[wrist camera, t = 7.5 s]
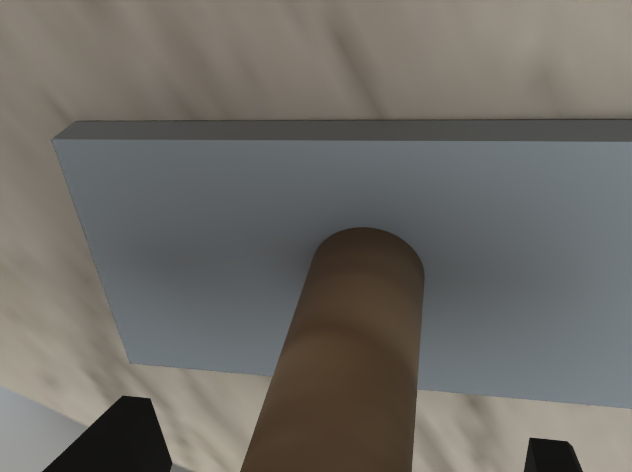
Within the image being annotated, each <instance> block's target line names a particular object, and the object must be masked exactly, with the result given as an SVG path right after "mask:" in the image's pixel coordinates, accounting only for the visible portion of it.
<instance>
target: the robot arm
mask: <svg viewBox="0 0 632 472" xmlns="http://www.w3.org/2000/svg"><path fill="white" fill-rule="evenodd" d="M171 466H172V461H171V458H170V455H169V452H168V449H167V446H166V443H165V440H164V437H163V434H162V431H161V428H160V425H159V422H158V420H157V417H156V414H155V411H154V408H153V405H152V402H151V399H150V398H141V397H131V396H122V397H121V398H120V399H119V400H118V401H116V402H115V403H114V404H113V405H112V406H111V407H110V408H109V409H108V410H107V411H106V412H105V413H104V414H103V415H101V416H100V417H99V418H98V419H97V420H96V421H95V422H94V423H93V424H92V425H91V426H90V427H89V428H88V429H87V430H86V431H85V432H84V433H83V434H82V435H81V436H80V437H79V438H78V439H76V440H75V441H74V442H73V443H72V444H71V445H70V446H69V447H68V448H67V449H66V450H65V451H64V452H63V453H62V454H61V455H60V456H58V457H57V458H56V459H55V460H54V461H53V462H52V463H51V464H50V465H49V466H48V467H47V468H46V469H44V471H42V472H170V469H171ZM524 472H583V471H582V468H581V466H580V464H579V461H578V459H577V456H576V454H575V451H574V449H573V446H571V445H570V444H569V443H568V442H567V441H558V440H548V439H538V438H530V439H529V445H528V451H527V456H526V462H525V468H524Z"/></svg>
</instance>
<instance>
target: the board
mask: <svg viewBox="0 0 632 472" xmlns="http://www.w3.org/2000/svg"><path fill="white" fill-rule="evenodd" d="M51 140H52V143H53V146H54V149H55V151H56V154H57V157H58V160H59V163H60V166H61V168H62V171H63V174H64V177H65V180H66V183H67V186H68V188H69V191H70V194H71V197H72V200H73V203H74V205H75V208H76V211H77V214H78V217H79V220H80V223H81V225H82V228H83V231H84V234H85V237H86V240H87V242H88V245H89V248H90V251H91V254H92V257H93V260H94V262H95V265H96V268H97V271H98V274H99V277H100V279H101V282H102V285H103V288H104V291H105V294H106V296H107V299H108V302H109V305H110V308H111V311H112V314H113V316H114V319H115V322H116V325H117V328H118V331H119V333H120V336H121V339H122V342H123V345H124V348H125V351H126V353H127V356H128V359H129V362H130V363H131V364H143V365H154V366H165V367H176V368H187V369H198V370H209V371H220V372H231V373H242V374H253V375H264V376H273V374H274V371H275V368H276V365H277V362H278V359H279V356H280V353H281V350H282V348H283V345H284V342H285V339H286V336H287V333H288V330H289V327H290V324H291V321H292V318H293V315H294V312H295V309H296V306H297V303H298V300H299V298H300V295H301V292H302V289H303V286H304V283H305V280H306V277H307V274H308V271H309V268H310V265H311V262H312V259H313V256H314V254H315V252H316V250H317V248H318V247H319V246H320V244H321V243H322V242H323V241H324V240H326V239H327V238H328V237H329V236H331V235H333V234H335V233H337V232H339V231H342V230H345V229H349V228H355V227H370V228H376V229H381V230H384V231H387V232H390V233H392V234H394V235H396V236H398V237H399V238H401V239H403V240H404V241H405V242H407V243H408V244H409V245H410V246H411V247H412V248H413V249H414V251H415V252H416V253H417V255H418V256H419V258H420V260H421V262H422V265H423V268H424V275H425V281H424V295H423V310H422V325H421V340H420V354H419V369H418V384H417V389H419V390H430V391H441V392H452V393H463V394H474V395H485V396H496V397H508V398H519V399H530V400H541V401H552V402H563V403H574V404H585V405H596V406H607V407H618V408H629V409H632V120H358V121H76V122H74V123H73V124H72V125H70V126H69V127H67V128H66V129H65V130H63V131H62V132H61V133H59V134H58V135H57V136H55V137H54V138H53V139H51Z"/></svg>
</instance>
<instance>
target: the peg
mask: <svg viewBox="0 0 632 472" xmlns="http://www.w3.org/2000/svg"><path fill="white" fill-rule="evenodd" d="M424 281H425V275H424V268H423V265H422V262H421V260H420V258H419V256H418V255H417V253H416V252H415V251H414V249H413V248H412V247H411V246H410V245H409V244H408V243H407V242H405V241H404V240H403V239H401V238H399V237H398V236H396V235H394V234H392V233H390V232H387V231H384V230H381V229H376V228H370V227H355V228H349V229H345V230H342V231H339V232H337V233H335V234H333V235H331V236H329V237H328V238H327V239H326V240H324V241H323V242H322V243H321V244H320V246H319V247H318V248H317V250H316V252H315V254H314V256H313V259H312V262H311V265H310V268H309V271H308V274H307V277H306V280H305V283H304V286H303V289H302V292H301V295H300V298H299V300H298V303H297V306H296V309H295V312H294V315H293V318H292V321H291V324H290V327H289V330H288V333H287V336H286V339H285V342H284V345H283V348H282V350H281V353H280V356H279V359H278V362H277V365H276V368H275V371H274V374H273V377H272V380H271V383H270V386H269V389H268V392H267V395H266V398H265V401H264V403H263V406H262V409H261V412H260V415H259V418H258V421H257V424H256V427H255V430H254V433H253V436H252V439H251V442H250V445H249V448H248V451H247V453H246V456H245V459H244V462H243V465H242V468H241V471H240V472H412V457H413V443H414V428H415V413H416V398H417V384H418V369H419V354H420V340H421V325H422V310H423V295H424Z"/></svg>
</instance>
